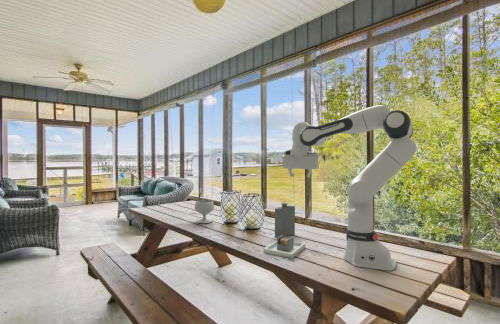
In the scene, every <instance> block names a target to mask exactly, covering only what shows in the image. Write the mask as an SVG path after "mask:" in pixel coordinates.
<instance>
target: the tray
mask: <svg viewBox="0 0 500 324" xmlns="http://www.w3.org/2000/svg"><path fill="white" fill-rule="evenodd" d="M305 249H306V242H299V241H295V240H294V246H293V249H292V250H290V251H289V252H287V251H282V250H277V240H275V241H274V242H271V244H269V245H267V246H265V247H264V248H263V253H265V254H270V255H274V256H278V257H283V258H287V260H293V259H294V258H295V257H297V255H300V253H301V252H302V251H303V250H305Z"/></svg>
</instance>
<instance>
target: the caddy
mask: <svg viewBox="0 0 500 324" xmlns="http://www.w3.org/2000/svg"><path fill="white" fill-rule="evenodd" d="M282 238H284V236H283V235H281V236H279V237H278V238H276V241H277V250H282V251H287V252H289V251H290V250H292V249H293V246H294V241H295V240H294V238H295V237H294V235H291V237H290V238H287V239H288V246H287V245H282V244H280V240H281V239H282Z"/></svg>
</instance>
